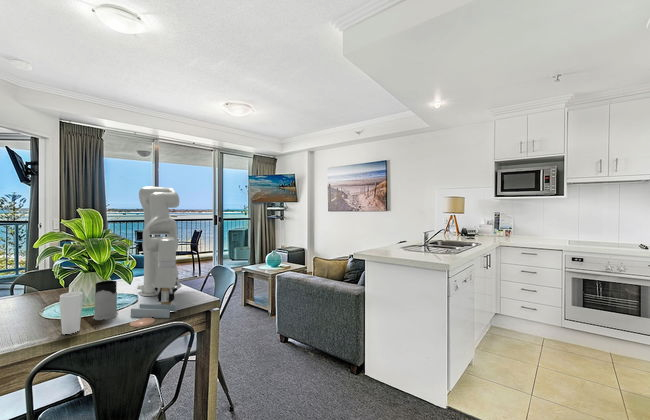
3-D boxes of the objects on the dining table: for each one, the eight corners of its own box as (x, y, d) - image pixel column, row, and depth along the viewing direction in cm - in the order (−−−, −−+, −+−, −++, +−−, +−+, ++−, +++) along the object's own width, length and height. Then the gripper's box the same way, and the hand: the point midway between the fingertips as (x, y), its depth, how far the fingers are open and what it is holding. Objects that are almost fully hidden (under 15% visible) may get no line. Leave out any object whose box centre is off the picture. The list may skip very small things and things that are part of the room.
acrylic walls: (130, 316, 129) (130, 308, 129) (140, 311, 136) (140, 303, 136) (168, 318, 129) (168, 310, 129) (176, 312, 136) (176, 304, 136)
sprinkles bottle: (169, 305, 145) (170, 278, 144) (172, 307, 141) (173, 280, 141) (159, 307, 142) (160, 279, 141) (162, 309, 138) (162, 281, 138)
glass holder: (89, 321, 123) (90, 286, 123) (102, 309, 137) (103, 277, 136) (113, 318, 126) (114, 284, 126) (124, 307, 140) (124, 276, 139)
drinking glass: (54, 335, 110) (54, 296, 109) (72, 327, 116) (73, 290, 116) (68, 337, 109) (69, 297, 108) (86, 329, 115) (87, 292, 115)
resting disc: (124, 326, 119) (124, 325, 119) (139, 318, 128) (139, 317, 128) (146, 327, 119) (146, 326, 119) (159, 318, 128) (159, 317, 128)
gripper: (144, 264, 137) (144, 302, 138) (180, 266, 137) (179, 304, 138) (154, 261, 145) (153, 297, 145) (187, 262, 145) (187, 299, 145)
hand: (166, 300), depth 141 cm, fingers closed on sprinkles bottle, 4 cm apart
